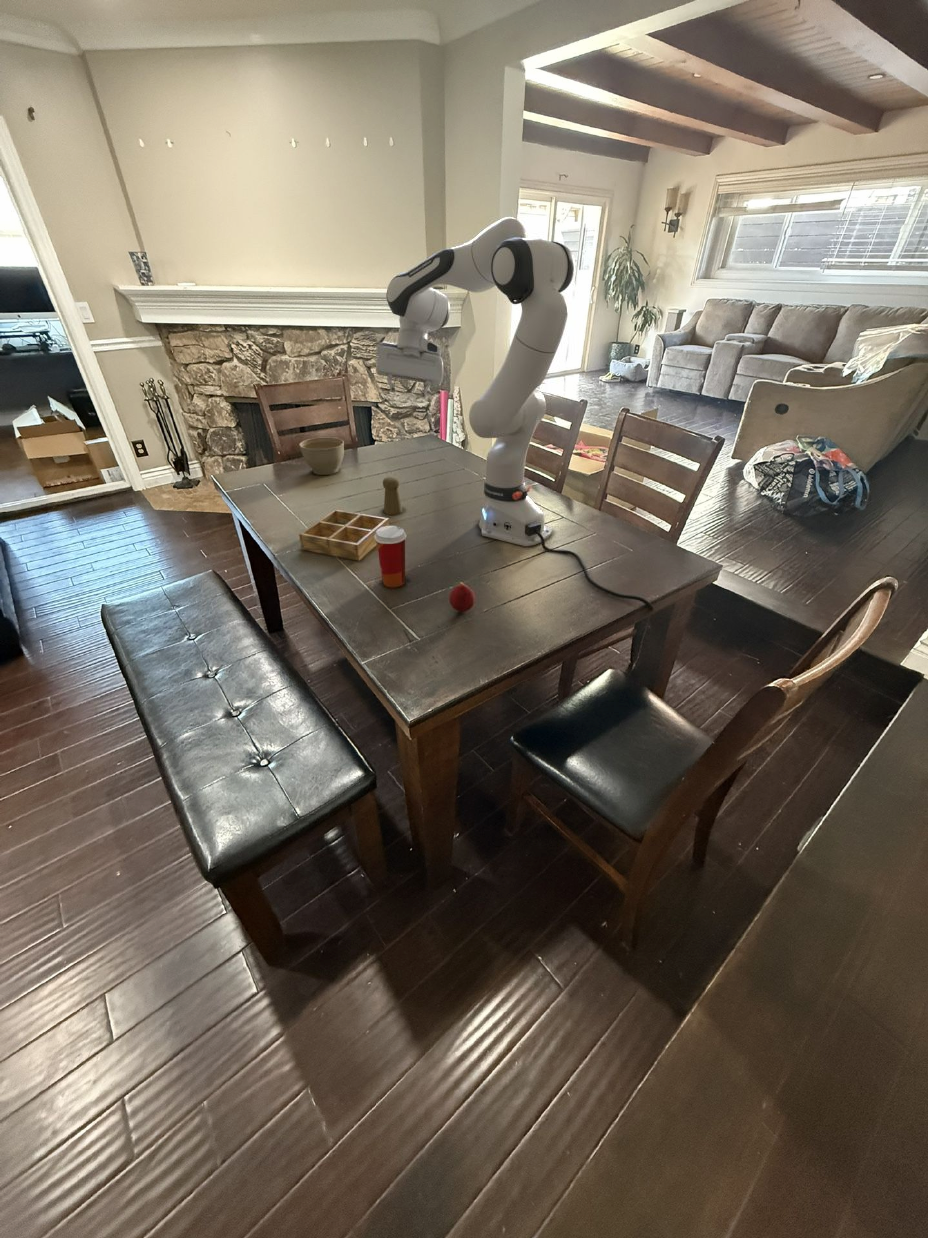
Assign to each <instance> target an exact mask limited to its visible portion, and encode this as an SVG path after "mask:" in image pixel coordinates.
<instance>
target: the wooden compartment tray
mask: <svg viewBox="0 0 928 1238" xmlns="http://www.w3.org/2000/svg"><path fill="white" fill-rule="evenodd" d="M385 526H390V518H389V517H382V516H377V515H370V514H366V513H365V514H364V513H359V512H352V511H346V510H340V509H333V510H332V511H330V512H329V513H328V514H326V515H325V516H323V517H322V518H320V519H319V520H317V521H316V522H314V523H313V524H311V525H310V526H309V527H307V528H306V529H303V530H302V531H301V532H300V533H299V534H298V537H299V542H300V546H301V551H302V550H303V551H308V552H311V553H318V554H322V555H327V556H328V555H329V556H333V557H337V558H338V557H339V558H343V559H349V560H355V561H359V562H360V561H361V560H362V559H363V558H364V557H365V556H366V555H367V554H369V553H370V552H371V551H372V550H373V549H375V547H377V543H376V540H375V539H374V536H375V534H376V531H377V530H378V529H379V528H381V527H385Z"/></svg>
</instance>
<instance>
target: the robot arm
mask: <svg viewBox="0 0 928 1238" xmlns="http://www.w3.org/2000/svg"><path fill="white" fill-rule="evenodd" d="M575 269H576V262H575V257H574V255H573V252H572V251H571V250H570V248H568V247H567V246H566V245H565V244H562V243H560V242H558V241H552V240H551V241H550V240H546V239H542V238H539V237H528V233H527V231H526V229H525V227H524V225H523V224H522V223H521V221H519V219H517V218H514V217H511V216H508V217H507V216H506V217H503V218H501V219H499V220H497V221H495V222H494V223H492V224H491V225H489V226H488V227H486V228H484V229H483V230H482V231H481V232H480V233H479V234H478V235H476V236H475V237H474V238H472V239H471V240H469V241H468V242H465V243H463V244H461V245H457V246H455V247H449V248H444V249H441V250H438V251H437V252H436V253H434V254H432V255H430V256H429V257H428V258H426V259H425V260H423V261H421V262H420V263H418V264H417V265H415V266H414V267H412V268H411V269H409V270H408V271H404V272H401V273H399V274H397V275H396V276H394V277H393V278H392V279H391V280H390V282H389V283H388V286H387V290H386V296H385V297H386V302H387V305H388V307H389V309H390V311H391V313H392V314H393V315H396V316H399V318H398V320H399V329H398V333H397V343H393V342H392V343H391V342H387V341H382V342H380V343H378V344H377V345H376V348H375V349H376V350H375V354H376V356H377V359H376V364H375V373H376V374H377V375H378V376H383V377H386V381H387V383H388V386H389V393H395V391H396V384H393V382H392V380H393V379H394V378H395V379H398V380H399V379H400V380H405V381H413V382H418V383H423V384H425V388H424V389H421V391H420V397H421V398H427V392H428V391H429V389H430V388H431V386H432V385H435V386H440V385H441V384H442V383H443V380H444V361H443V358H442V357H441V355H442V347H441V346H440V345H438V344H435V343H434V342H432V341H430V340H429V339H428V333H430V332H431V333H433V332H437V331H438V330H441V329H443V328H444V327H445V326H447V324H448V322H449V319H450V316H451V304H450V300H449V298H448V296H447V295H445V294H443V292H440V291H438V290H437V289H435V288H433V287H434V286H437V285H446V286H451V287H455V288H458V289H462V290H464V291H467V292H471V293H477V294H479V293H483V292H486V291H489V290H491V289H493V288H494V287H497V289H498V290H499V291H500V292H501V293H502V294H504V295H505V296H506V297H507V299H508V301H509V302H510V303H511V304H512V305H519V304H520V306H521V315H520V318H519V321H518V324H517V326H516V329H515V332H514V335H513V337H512V340H511V343H510V346H509V349H508V351H507V354H506V356H505V359H504V362H503V364H502V365H501V368H500V369H499V370H498V372H497V374H496V375H495V377H494V378H493V380H492V381H491V382H490V384H489V386H488V387H487V389H486V390H485V391H484V392H483V394H482V395H481V396H480V397H479V398H477V400H475V401H474V402H473V403H472V404H471V406H470V408H469V413H468V421H469V425H470V428H471V429H472V432H473V433H474V434H475V435H476V436H477V437H479V438H482V439H495V441H494V443H493V444H492V446H491V447H490V448H489V450H488V452H487V453H486V467H485V468H486V469H485V480H484V485H483V494H484V501H483V508H482V513H481V518H480V520H479V523H478V527H479V529H480V530H481V533H480V534H481V536H483V537H486V538H490V539H495V540H499V541H503V542H506V543H511V544H515V545H518V546H523V547H530V546H535V545H538V544H541V547H542V549H543V550H545V551H546V552H549V553H557V554H566V555H570V556H573V557H574V558H575V559H576V560H577V562H578V564H579V566H580V568H581V569H582V571H583V573H584V576H585V578H586V580H587V582H589V583H590V585H592V586H593V587H595V588H596V589H598V590H600V591H602V592H604V593H606V594H609V595H611V596H613V597H616V598H619V599H621V598H622V599H626V600H627V599H628V600H635V601H639V602H641V603H643V604H644V605H645V606H647V608H648V609H649V610H652V611H653V610H654V607H653V605H652V604H651V602H649V601H648V600H647V599H645V598H644V597H641V596H638V595H634V594H633V595H632V594H623V593H619V592H616V591H615V590H614V591H613V590H612V589H609V588H606V587H604V586H602V585H599V584H598V583H596V582H595V580H593V579H592V578H591V576H590V574H589V571H588V569H587V567H586V566H585V564H584V562H583V559H581V557H580V556H579V554H577V553H576V552H574V551H571V550H564V549H551V548H549V547H548V546H546V543H545V542H546V540H547V539H549V537H550V536H551V535H552V528H551V527H549V526H547V525H545V515H544V512H543V511H542V510H541V509H540V507H538V506H537V504H536V503H535V502H534V501H533V499H531V498H530V497H529V494H528V493H529V492H531V489H532V487H531V486H529V487H527V486H526V482H525V480H524V479H525V471H526V461H527V455H528V451H529V447H530V444H531V441H532V439H533V436H534V434H535V432H536V429H537V427H538V426H539V423H540V422H541V421H542V420H543V419H544V417H545V415H546V411H547V402H546V399H545V396H544V394H543V393H542V392H541V391H540V390H539V389H538V388H539V386H541V385H542V383H544V381H545V380H546V377H547V374H548V373H549V370H550V368H551V365H552V363H553V361H554V358H555V356H556V353H557V350H558V349H559V346H560V343H561V341H562V338H563V335H564V331H565V329H566V324H567V322H568V317H569V311H570V306H569V302H568V300H567V298H566V297H565V295H563V294H562V293H563V292H564V291H566V289H567V288H568V287H569V286H570V284H571V283H572V281H573V278H574V276H575V271H576V270H575Z"/></svg>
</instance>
